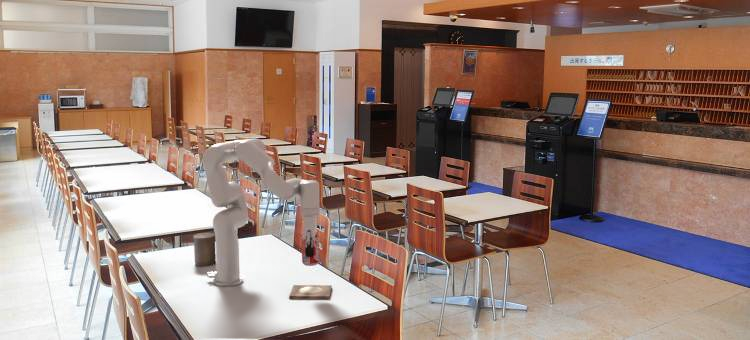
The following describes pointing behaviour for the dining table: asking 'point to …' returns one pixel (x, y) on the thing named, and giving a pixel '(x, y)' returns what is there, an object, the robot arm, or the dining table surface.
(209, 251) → the pillar candle
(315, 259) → the soda can
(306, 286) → the board
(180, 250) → the dining table surface
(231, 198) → the robot arm
